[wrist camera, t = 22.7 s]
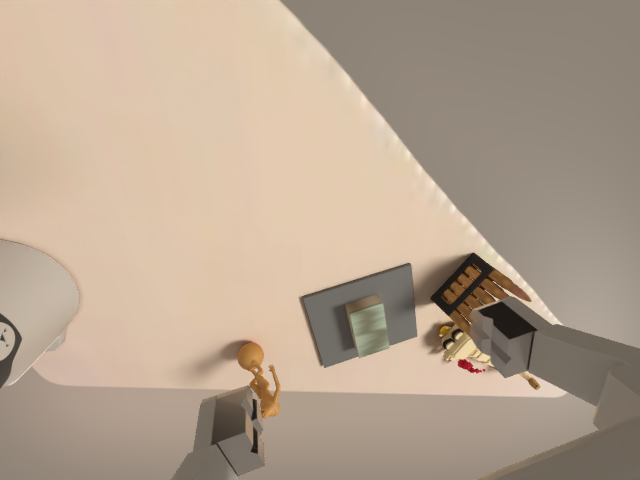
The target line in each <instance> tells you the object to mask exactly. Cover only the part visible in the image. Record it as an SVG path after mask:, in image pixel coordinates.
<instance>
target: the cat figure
mask: <svg viewBox="0 0 640 480" xmlns="http://www.w3.org/2000/svg"><path fill="white" fill-rule="evenodd" d="M470 325H472V323H471V324H470ZM440 332H441V334H439V336H441V337H442V336H443V338H442V340H441V342H442V345H443V347H444V349H446V350H447V351H445V352H444V354H445V355H444V356H443V357H444V359H445V360H447V361H448V360H449V359H450V360H453V361H455V360H457V359H459V361H458V366H459V367H461V368H463V369H467V370H468V371H470V373H474V372H476V373H479V372H482V371H481V370H480V371H479V370H478V369H475V370H474V368H472V367H473V365H472V364H471V363H470V362H469V363H468V362H467V360H465V359H466V358H467V357H468V356H469V357H472V358H473V359H475V360H478V361H481V362H482V363H484V364H487V365H489V366H492V367H494V366H493V365H492V364H491V361H490V356H488V355H486V354H483V353H481V352H480V350H479V349H478V348H477V347H476V345H475V344H474V342H473V340H472V339H471V338H470V337H469V335H467V334H466V333H465V332H464V331H463V330H461V329H460V328H459V327H458V326H457V325H456V324H455V325H454V326H453V327H452V328H451V327H448V326H444V327H442V328H441V329H440ZM483 371H484V372H485V371H486V370H485V369H483ZM516 375H517V374H516ZM516 375H513V377H515V376H516ZM519 375H521V376H522V377H523V378H525V379H526V380H527V381H529V384H530V385H531V386H532V387H533V388H534V389H536V390H538V389H539V388H540V385H539V384H538V383H537V382H536V380H535V379H534V378H532V377H531V376H530V375H528V374H527V373H525V372H522V373H519Z"/></svg>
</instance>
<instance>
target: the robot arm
mask: <svg viewBox="0 0 640 480" xmlns="http://www.w3.org/2000/svg"><path fill="white" fill-rule="evenodd" d="M78 306H79V293H78V289H77V287H76V284H75V282H74V281H73V279H72V277H71V276H70V275H69V273H68V272H67V271H66V270H65V269H64V268H63V267H62V266H61V265H60V264H59V263H57V262H56V261H55V260H53V259H52V258H50V257H49V256H47V255H46V254H44V253H42V252H40V251H38V250H36V249H33V248H31V247H28V246H25V245H22V244H19V243H15V242H10V241H5V240H0V388H1V387H3V386H6V385H12V384H13V383H15V382H16V381H17V380H18V379H19V378H20V377H21V376H22V375H23V374H24V373H25V372H26V371H27V370H28V369H29V368H30V367H31V366H32V365H33V364H34V363H35V362H36V361H37V360H38V359H39V358H40V357H41V355H42V354H43V353H44V352H48V351H53V350H56V349H57V348H58V347H59V346H60V345H61V344H62V343H63V342H64V338H65V329H66V327H67V325H68V324H69V323H70V321H71V320H72V319H73V318H74V316H75V314H76V312H77V310H78ZM470 318H471V319H472V320H473V321H474V322H473V323H472V325H471V326H470V335H471V338H472V340H473V342H474V344H475V345H476V347H477V348H478V349H479V350H480V352H481V353H483V354H486V355H488V356H490V361H491V364H492V365H493V366H494V367H495V368H496V369H497V370H498V371H499V372H500V373H501V374H502V376H503V377H504V378H507V377H510V376H513V375H516V374H519V373H522V372H525V371H528V370H529V371H528V372H529V373H531V374H533V375H535V376H537V377H539V378H541V379H543V380H545V381H547V382H549V383H551V384H553V385H555V386H557V387H559V388H561V389H563V390H565V391H567V392H569V393H571V394H573V395H575V396H577V397H579V398H581V399H583V400H585V401H586V402H589V403H590V404H593V405H594V406H596V407H597V408H596V410H595V413H594V416H593V424H594V425H595V426H596V427H597V428H598V429H599V430H598V431H595V432H593V433H590V434H588V435H585V436H583V437H580V438H578V439H575V440H573V441H570V442H567V443H566V444H562V445H560V446H557V447H555V448H552V449H550V450H547V451H545V452H542V453H540V454H537V455H535V456H532V457H530V458H527V459H525V460H522V461H519V462H517V463H514V464H512V465H509V466H507V467H504V468H502V469H499V470H496V471H494V472H491V473H489V474H487V475H484V476H481V477H479V478H476V479H474V480H640V349H639V348H636V347H632V346H629V345H625V344H622V343H619V342H615V341H612V340H609V339H605V338H602V337H598V336H595V335H592V334H588V333H585V332H582V331H578V330H575V329H572V328H568V327H565V326H562V325H558V324H555V325H552V324H550V323H549V322H548V321H546V320H545V319H544V318H542V317H541V316H540V315H538V314H537V313H535V312H534V311H533V310H531V309H530V308H529V307H527V306H526V305H525V304H523V303H522V302H521V301H519V300H518V299H517V298H515V297H512V296H510V297H507V298H504V299H501V300H498V301H495V302H492V303H489V304H486V305H483V306H481V307H478V308H475V309H472V311H471V312H470ZM262 431H263V422H262V415H261V410H260V407H259V404H258V402H257V400H255V399H253V396H252V390H251V388H250V387H249V386H245V387H241V388H238V389H235V390H232V391H228V392H225V393H222V394H219V395H216V396H213V397H210V398H207V399H204V400H202V402H201V405H200V409H199V416H198V422H197V429H196V435H195V441H194V447H193V452H191V453H189V454H188V455H187V456H186V458H185V459H184V461H183V462H182V464H181V465H180V467H179V468H178V470H177V471H176V473H175V474H174V476H173V478H172V479H171V480H238V476H240V475H242V474H245V473H247V472H250V471H252V470H255V469H257V468H260V467H262V466H265V463H264V443H263V442H262V439H261V438H260V435H261V433H262Z"/></svg>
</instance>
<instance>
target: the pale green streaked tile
mask: <svg viewBox="0 0 640 480" xmlns="http://www.w3.org/2000/svg"><path fill="white" fill-rule="evenodd" d="M345 306H346V310H347V315H348V319H349V324H350V328H351V333H352V337H353V342H354V346H355V349H356V351H357V354H358V356H359V358H361V357H364V356H367V355H370V354H373V353H376V352H379V351H382V350H385V349H388V348H390V347H389V340H388V333H387V326H386V319H385V313H384V306H383V302H382V301H381V299H380V298H379V296H378V295H377V294H375V295H372V296H369V297H366V298H363V299H360V300H356V301H353V302H350V303H347V304H345Z"/></svg>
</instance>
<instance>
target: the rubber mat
mask: <svg viewBox="0 0 640 480" xmlns="http://www.w3.org/2000/svg"><path fill="white" fill-rule="evenodd" d="M375 294H377V295H378V296H379V298H380V299H381V301H382V302H383V306H384V313H385V319H386V326H387V333H388V340H389V346H391V345H394V344H397V343H399V342H402V341H405V340H408V339H411V338H414V337H417V328H416V316H415V304H414V292H413V281H412V269H411V264H410V263H408V264H405V265H402V266H399V267H395V268H392V269H389V270H386V271H383V272H379V273H376V274H373V275H370V276H367V277H363V278H360V279H357V280H354V281H351V282H347V283H344V284H341V285H338V286H335V287H332V288H328V289H325V290H322V291H319V292H316V293H312V294H309V295H306V296H303V300H304V304H305V307H306V310H307V313H308V317H309V320H310V323H311V326H312V330H313V333H314V336H315V340H316V343H317V346H318V349H319V353H320V356H321V359H322V363H323V366H324V368H326V367H329V366H332V365H335V364H338V363H341V362H343V361H346V360H349V359H352V358H355V357H358V354H357V351H356V349H355V346H354V342H353V337H352V333H351V328H350V324H349V319H348V315H347V310H346V306H345V304H347V303H350V302H353V301H356V300H360V299H363V298H366V297H369V296H372V295H375Z"/></svg>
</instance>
